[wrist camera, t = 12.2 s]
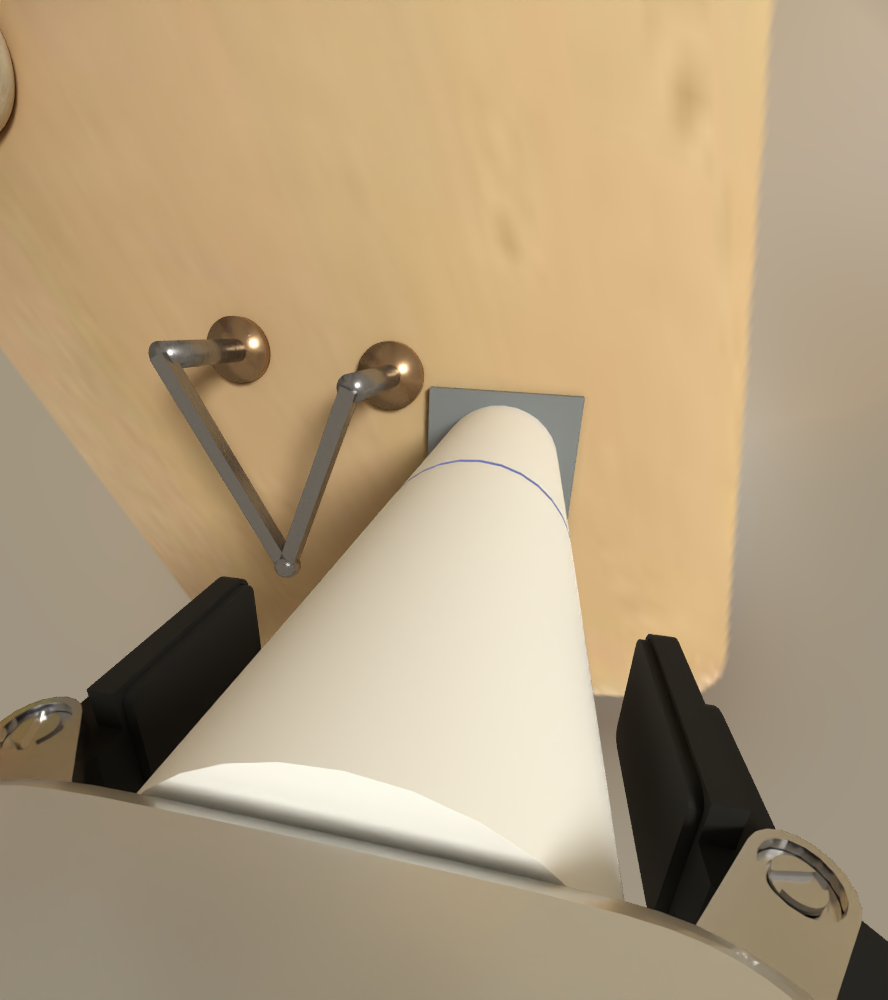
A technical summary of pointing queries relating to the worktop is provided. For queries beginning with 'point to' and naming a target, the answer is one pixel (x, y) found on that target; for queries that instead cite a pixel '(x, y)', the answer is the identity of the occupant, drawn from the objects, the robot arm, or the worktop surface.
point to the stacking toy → (5, 83)
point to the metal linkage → (244, 358)
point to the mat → (549, 409)
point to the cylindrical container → (430, 681)
